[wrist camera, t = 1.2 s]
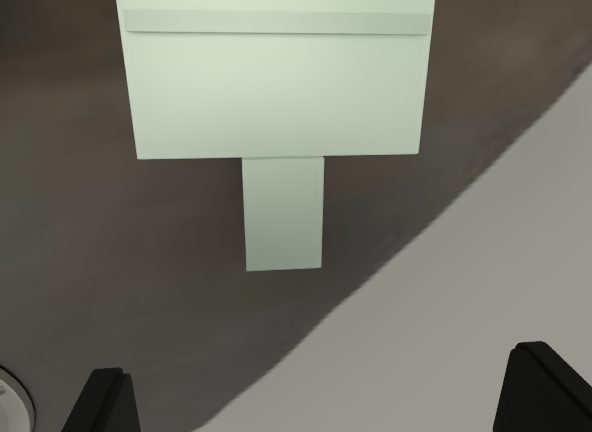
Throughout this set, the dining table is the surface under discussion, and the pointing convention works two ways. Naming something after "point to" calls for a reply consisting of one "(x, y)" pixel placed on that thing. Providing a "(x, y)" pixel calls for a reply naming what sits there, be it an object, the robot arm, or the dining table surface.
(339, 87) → the lid
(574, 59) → the dining table surface
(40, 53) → the dining table surface
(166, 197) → the dining table surface
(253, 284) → the dining table surface
